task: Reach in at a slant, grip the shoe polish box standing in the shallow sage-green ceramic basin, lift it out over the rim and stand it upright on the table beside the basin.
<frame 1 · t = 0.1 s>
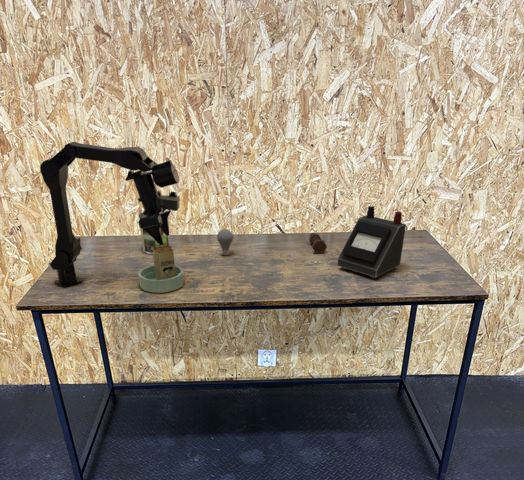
hand: (165, 239, 158), 15 cm above the table, tool pointing down, fingers open, 9 cm apart
voltmeter: (367, 269, 178), on the table
coffee can: (156, 250, 195), on the table
shoe polish box: (166, 284, 166), resting on basin
bolt: (316, 247, 198), on the table
basin: (162, 284, 166), on the table
light bulb: (225, 255, 191), on the table
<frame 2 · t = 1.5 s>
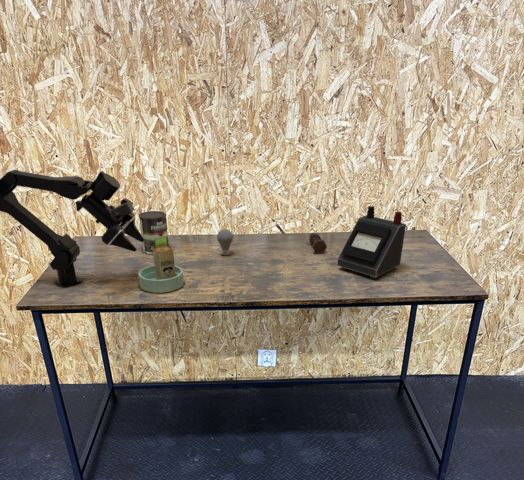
hand: (139, 245, 159), 13 cm above the table, tool tilted 45°, fingers open, 9 cm apart
nothing on the table moved.
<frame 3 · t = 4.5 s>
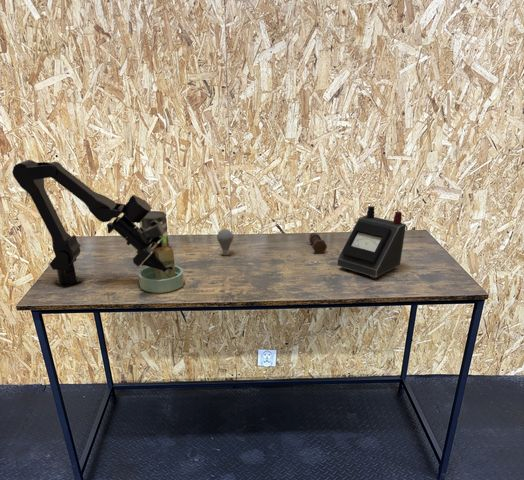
hand: (168, 266, 162), 7 cm above the table, tool tilted 45°, fingers closed on shoe polish box, 7 cm apart
shoe polish box: (166, 284, 166), resting on basin, touching gripper
everything else where it was.
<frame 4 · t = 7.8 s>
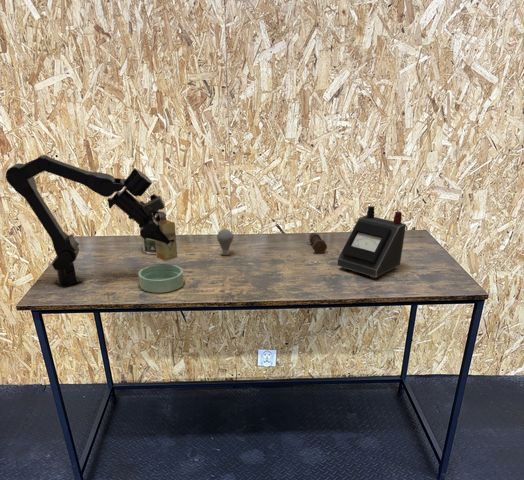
hand: (169, 239, 165), 13 cm above the table, tool tilted 45°, fingers closed on shoe polish box, 7 cm apart
shoe polish box: (167, 258, 168), point 7 cm above the table, touching gripper
everything else where it was.
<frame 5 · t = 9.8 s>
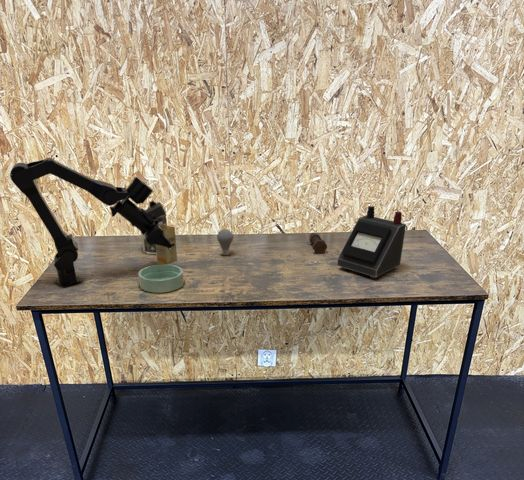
hand: (169, 243, 172), 10 cm above the table, tool tilted 45°, fingers closed on shoe polish box, 7 cm apart
shoe polish box: (167, 261, 175), point 3 cm above the table, touching gripper
everything else where it was.
when the fingers open (6 cm above the table, at t = 11.4 s): shoe polish box stays where it is, on the table.
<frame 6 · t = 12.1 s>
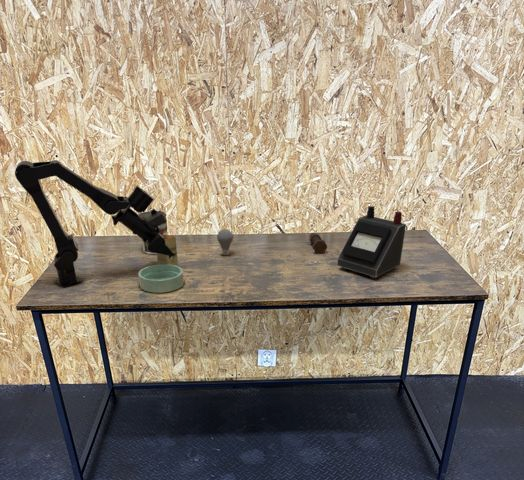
hand: (171, 251, 174), 7 cm above the table, tool tilted 45°, fingers open, 9 cm apart
shoe polish box: (168, 271, 177), on the table
everything else where it was.
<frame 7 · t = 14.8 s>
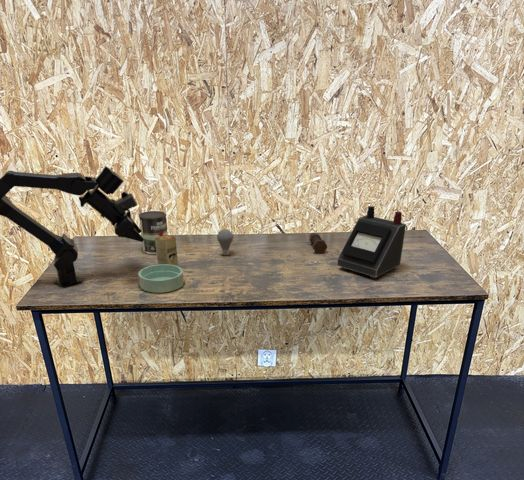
hand: (141, 236, 167), 13 cm above the table, tool tilted 45°, fingers open, 9 cm apart
nothing on the table moved.
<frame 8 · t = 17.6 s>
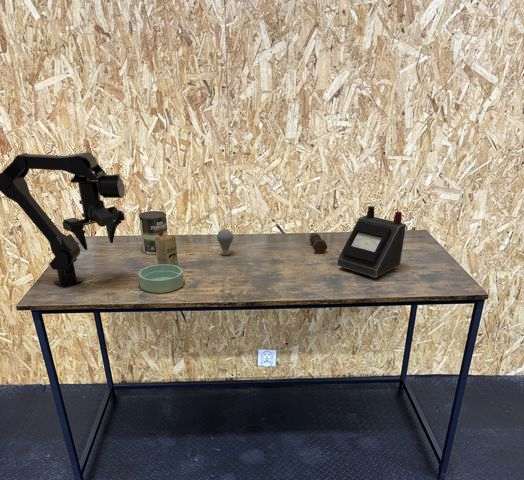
hand: (99, 246, 160), 13 cm above the table, tool pointing down, fingers open, 9 cm apart
nothing on the table moved.
at the end: shoe polish box inside the target area (0.1 cm from its centre), on the table; shoe polish box tilted 0°; shoe polish box touching table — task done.
